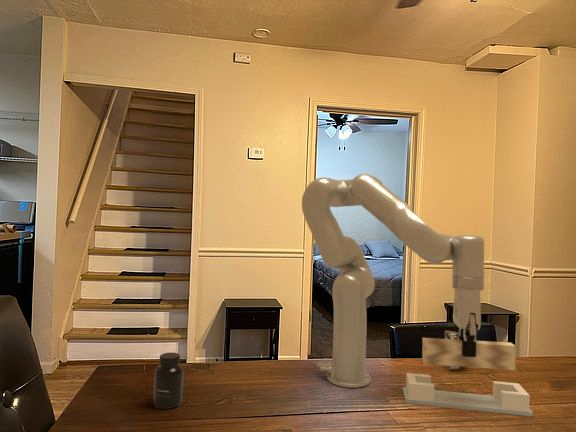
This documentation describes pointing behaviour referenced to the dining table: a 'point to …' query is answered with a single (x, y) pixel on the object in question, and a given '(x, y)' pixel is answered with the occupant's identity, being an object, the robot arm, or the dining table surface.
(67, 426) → the dining table surface
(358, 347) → the robot arm
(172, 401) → the supplement bottle
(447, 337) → the food container
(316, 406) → the dining table surface
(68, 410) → the dining table surface
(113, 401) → the dining table surface
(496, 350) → the slat
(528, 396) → the frame
